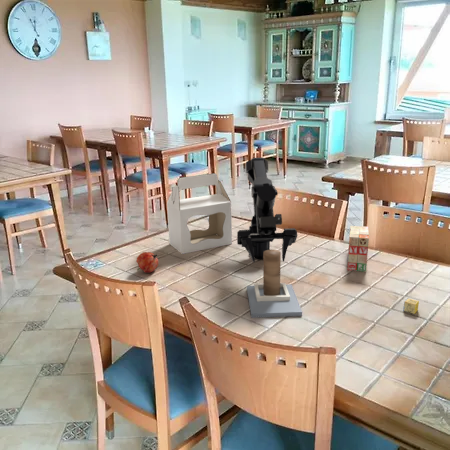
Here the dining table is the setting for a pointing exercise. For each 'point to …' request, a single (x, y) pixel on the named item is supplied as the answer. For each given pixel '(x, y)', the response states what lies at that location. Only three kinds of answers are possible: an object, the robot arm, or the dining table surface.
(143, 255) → the pomegranate
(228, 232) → the gable box
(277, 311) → the baseplate
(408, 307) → the alphabet block
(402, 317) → the dining table surface
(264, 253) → the walnut column
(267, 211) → the robot arm
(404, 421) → the dining table surface
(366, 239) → the stack of blocks
